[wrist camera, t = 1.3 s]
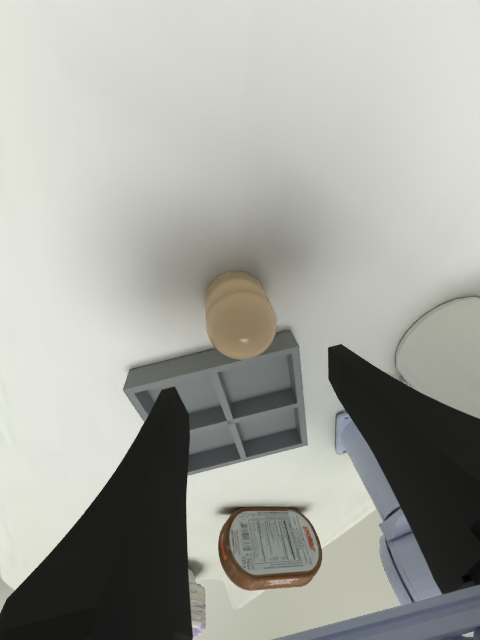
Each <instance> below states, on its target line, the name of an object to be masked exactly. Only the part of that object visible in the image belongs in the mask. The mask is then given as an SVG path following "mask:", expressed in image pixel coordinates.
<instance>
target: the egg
mask: <svg viewBox="0 0 480 640" xmlns="http://www.w3.org/2000/svg"><path fill="white" fill-rule="evenodd" d="M205 307H206V327H207V333H208V336H209V339H210V341H211V343H212V344H213V346H214V347H215V348H216V349H217V350H218V351H219V352H220V353H222V354H223V355H225V356H227V357H230V358H233V359H238V360H244V359H250V358H254V357H256V356H258V355H260V354H261V353H263V352H264V351H265V350H266V349H267V348H268V347H269V346H270V345H271V343H272V341H273V339H274V337H275V334H276V329H277V319H276V314H275V312H274V309H273V307H272V305H271V303H270V301H269V299H268V298H267V296H266V294H265V292H264V290H263V288H262V286H261V284H260V283H259V281H258V280H257V279H256V278H255V277H254V276H252V275H251V274H249V273H246V272H243V271H229V272H225V273H223V274H221V275H219V276H217V277H216V278H215V279H214V280H213V281H212V282H211V283H210V285H209V286H208V288H207V291H206V295H205Z"/></svg>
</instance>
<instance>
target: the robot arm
mask: <svg viewBox="0 0 480 640" xmlns="http://www.w3.org/2000/svg"><path fill="white" fill-rule="evenodd" d="M328 369H329V381H330V383H331V385H332V387H333V389H334V391H335V393H336V395H337V397H338V399H339V400H340V402H341V404H342V405H343V407H344V408H345V410H346V411H347V412H346V413H342V414H339V415H338V416H337V418H336V453H337V454H338V455H342V454H345V453H348V455H349V457H350V459H351V460H352V462H353V464H354V466H355V468H356V470H357V472H358V474H359V476H360V478H361V480H362V482H363V484H364V485H365V487H366V489H367V491H368V493H369V495H370V497H371V499H372V501H373V503H374V505H375V507H376V509H377V510H378V512H379V514H380V516H381V518H382V520H383V523H380V524H379V526H380V528H381V530H382V532H383V534H384V535H383V536H381V537H380V548H379V550H380V557H381V561H382V564H383V567H384V570H385V572H386V575H387V577H388V579H389V582H390V584H391V586H392V588H393V590H394V592H395V594H396V596H397V598H398V600H399V601H400V603H401V606H397V607H394V608H390V609H386V610H382V611H378V612H375V613H371V614H367V615H363V616H359V617H356V618H352V619H348V620H345V621H341V622H337V623H333V624H330V625H325V626H322V627H318V628H314V629H311V630H307V631H303V632H299V633H295V634H292V635H288V636H284V637H280V638H276V639H273V640H480V419H479V418H476V417H474V416H472V415H469V414H467V413H464V412H462V411H460V410H457V409H455V408H452V407H450V406H448V405H446V404H443V403H441V402H439V401H437V400H435V399H433V398H431V397H429V396H427V395H425V394H422V393H420V392H419V391H417V390H415V389H413V388H411V387H409V386H407V385H405V384H404V383H402V382H400V381H398V380H396V379H395V378H393V377H391V376H390V375H388V374H386V373H385V372H383V371H381V370H380V369H378V368H377V367H375V366H373V365H372V364H370V363H369V362H367V361H366V360H364V359H363V358H361V357H360V356H358V355H357V354H355V353H354V352H352V351H351V350H349V349H348V348H346V347H345V346H343V345H342V344H340V345H336V346H332V347H328ZM189 445H190V424H189V413H188V411H187V409H186V407H185V405H184V403H183V401H182V400H181V398H180V396H179V394H178V392H177V390H176V388H175V386H174V387H170V388H166V389H162V390H161V392H160V394H159V395H158V397H157V399H156V401H155V403H154V405H153V407H152V409H151V411H150V413H149V415H148V417H147V419H146V421H145V422H144V424H143V426H142V428H141V430H140V432H139V433H138V435H137V437H136V439H135V440H134V442H133V444H132V445H131V447H130V449H129V450H128V452H127V454H126V455H125V457H124V458H123V460H122V462H121V463H120V465H119V466H118V468H117V469H116V471H115V472H114V474H113V475H112V477H111V478H110V479H109V481H108V482H107V484H106V485H105V487H104V488H103V489H102V491H101V492H100V493H99V495H98V496H97V497H96V499H95V500H94V501H93V502H92V504H91V505H90V506H89V508H88V509H87V510H86V511H85V513H84V514H83V515H82V517H81V518H80V519H79V520H78V521H77V523H76V524H75V525H74V526H73V527H72V529H71V530H70V531H69V532H68V533H67V534H66V536H65V537H64V538H63V539H62V540H61V541H60V543H59V544H58V545H57V546H56V547H55V548H54V549H53V551H52V552H51V553H50V554H49V555H48V556H47V557H46V558H45V559H44V560H43V562H42V563H41V564H40V565H39V566H38V567H37V568H36V569H35V570H34V571H33V572H32V573H31V574H30V575H29V576H28V577H27V579H26V580H25V581H24V582H23V583H22V584H21V585H20V586H19V587H18V588H17V589H16V590H15V591H14V592H13V593H12V594H11V596H9V597H8V598H7V600H6V602H5V604H4V606H3V609H2V611H1V613H0V640H192V639H193V631H192V619H191V605H190V591H189V574H188V554H187V525H186V488H187V474H188V460H189ZM473 631H474V635H473V636H474V637H465V636H462V634H466V633H469V632H473Z"/></svg>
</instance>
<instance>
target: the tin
mask: <svg viewBox="0 0 480 640" xmlns="http://www.w3.org/2000/svg"><path fill="white" fill-rule="evenodd" d="M218 550H219V557H220V561H221V564H222V567H223V569H224V571H225V573H226V575H227V576H228V578H229V579H230V580H231V581H232V582H233V583H234V584H235V585H237V586H238V587H239V588H242V589H244V590H249V591H252V590H264V589H276V588H290V587H302V586H305V585H307V584H308V583H309V582H310V581H311V580H312V578H313V576H315V574H316V573H317V572H318V570H319V568H320V565H321V561H322V549H321V545H320V541H319V538H318V536H317V533H316V531H315V529H314V527H313V525H312V524H311V522H310V521H309V520H308V519H307V518H306V517H305V516H304V515H303V514H302V513H300V512H299V511H297V510H295V509H292V508H265V507H244V508H240V509H238V510H236V511H235V512H234V513H233V514H232V515H231V516H230V517H229V519H228V520H227V521H226V523H225V524H224V526H223V527H222V530H221V532H220V536H219V543H218Z"/></svg>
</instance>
